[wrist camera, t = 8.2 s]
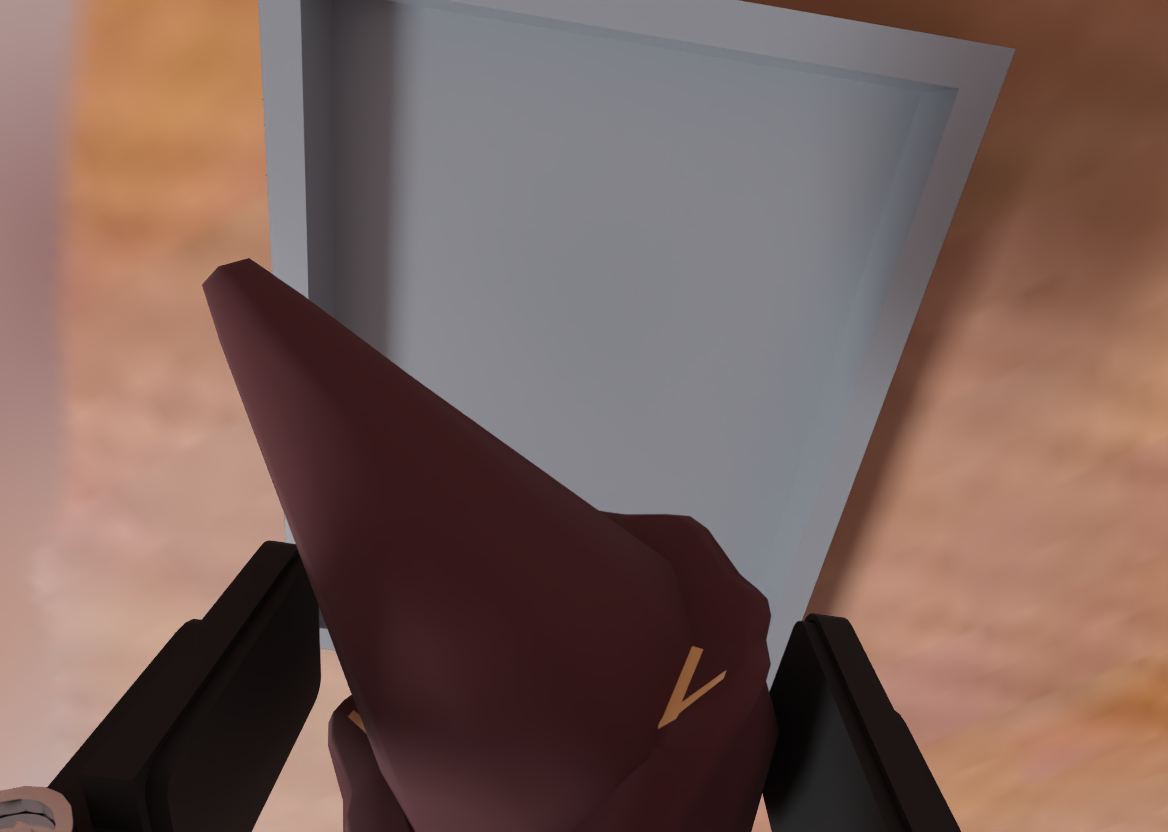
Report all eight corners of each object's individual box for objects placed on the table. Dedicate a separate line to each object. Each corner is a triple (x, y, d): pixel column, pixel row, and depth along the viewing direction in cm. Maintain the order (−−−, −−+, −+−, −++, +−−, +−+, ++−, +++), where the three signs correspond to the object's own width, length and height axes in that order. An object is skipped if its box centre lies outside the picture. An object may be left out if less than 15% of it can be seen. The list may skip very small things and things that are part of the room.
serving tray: (962, 58, 18) (1015, 48, 15) (754, 658, 27) (769, 708, 24) (300, -57, 17) (253, -86, 15) (318, 599, 26) (290, 644, 24)
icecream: (-326, 579, 6) (523, 1101, 12) (238, 273, 2) (954, 1190, 9) (211, 266, 11) (592, 743, 18) (589, 54, 8) (876, 726, 15)
